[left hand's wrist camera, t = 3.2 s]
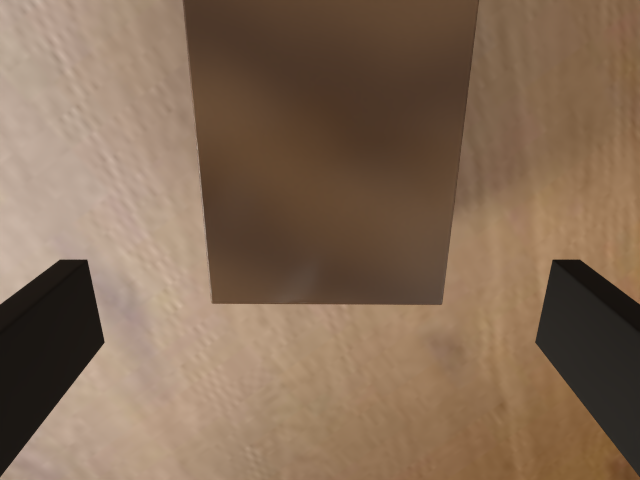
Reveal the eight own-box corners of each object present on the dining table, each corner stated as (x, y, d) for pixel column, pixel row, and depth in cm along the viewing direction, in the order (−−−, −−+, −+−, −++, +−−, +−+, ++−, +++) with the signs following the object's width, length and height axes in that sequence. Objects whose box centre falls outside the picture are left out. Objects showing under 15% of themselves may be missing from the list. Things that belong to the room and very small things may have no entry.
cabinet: (220, -174, 22) (149, -345, 13) (437, -172, 22) (520, -341, 13) (244, 231, 29) (211, 304, 20) (404, 231, 29) (442, 305, 20)
